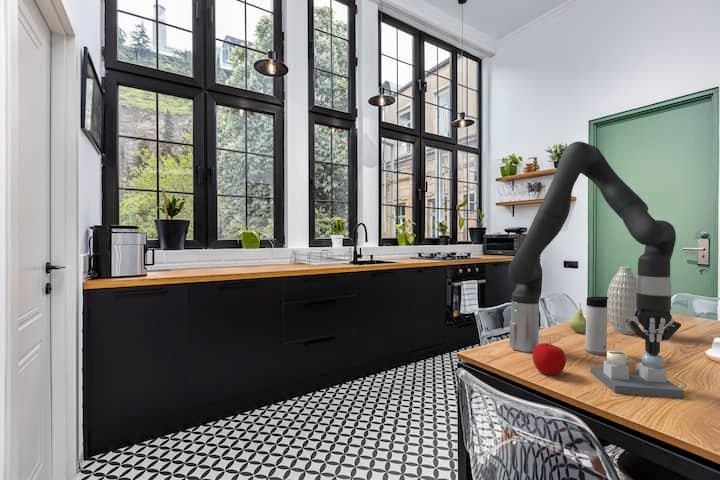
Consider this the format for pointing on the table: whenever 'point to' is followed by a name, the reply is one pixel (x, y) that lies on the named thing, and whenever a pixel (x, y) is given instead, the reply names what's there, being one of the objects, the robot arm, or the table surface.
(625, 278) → the vase
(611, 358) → the knob ivory
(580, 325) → the fruit
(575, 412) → the table surface
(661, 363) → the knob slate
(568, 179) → the robot arm
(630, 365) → the trim pot
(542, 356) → the fruit
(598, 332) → the travel mug
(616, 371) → the plate
